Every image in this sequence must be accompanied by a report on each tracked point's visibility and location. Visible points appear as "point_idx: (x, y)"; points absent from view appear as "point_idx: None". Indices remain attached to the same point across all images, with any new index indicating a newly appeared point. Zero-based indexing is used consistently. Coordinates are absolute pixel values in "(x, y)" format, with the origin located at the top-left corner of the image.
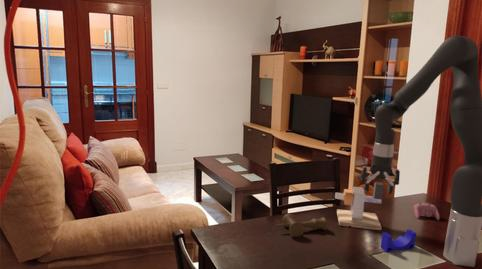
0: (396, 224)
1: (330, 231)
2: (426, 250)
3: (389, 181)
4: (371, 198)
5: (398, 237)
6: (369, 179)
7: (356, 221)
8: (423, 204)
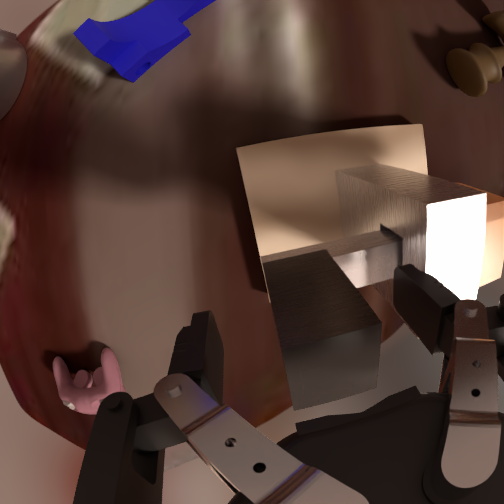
0: (170, 254)
1: (430, 61)
2: (66, 65)
3: (211, 412)
4: (343, 251)
5: (157, 47)
6: (477, 335)
7: (359, 156)
8: (90, 403)
